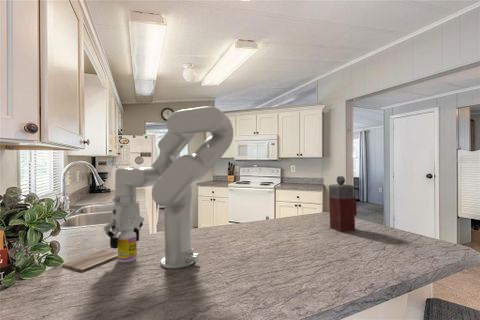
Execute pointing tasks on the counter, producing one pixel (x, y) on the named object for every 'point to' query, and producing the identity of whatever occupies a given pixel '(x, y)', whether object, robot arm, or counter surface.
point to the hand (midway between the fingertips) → (125, 243)
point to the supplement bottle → (127, 246)
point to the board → (91, 261)
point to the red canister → (342, 206)
